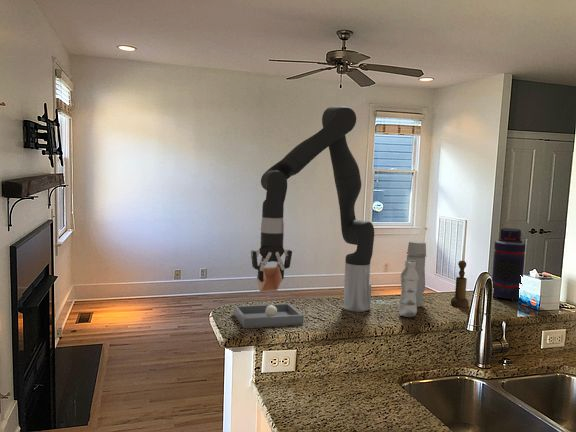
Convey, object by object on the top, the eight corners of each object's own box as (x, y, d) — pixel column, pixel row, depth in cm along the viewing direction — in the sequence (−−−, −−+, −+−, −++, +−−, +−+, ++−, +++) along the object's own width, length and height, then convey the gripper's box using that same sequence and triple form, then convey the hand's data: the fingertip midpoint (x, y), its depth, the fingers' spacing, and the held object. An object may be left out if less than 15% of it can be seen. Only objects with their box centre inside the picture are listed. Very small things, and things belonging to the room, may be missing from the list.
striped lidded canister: (520, 303, 191) (525, 231, 189) (489, 298, 197) (494, 228, 195) (522, 296, 203) (527, 228, 201) (493, 292, 209) (497, 226, 207)
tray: (288, 311, 167) (288, 303, 166) (303, 324, 153) (303, 315, 152) (233, 314, 160) (234, 306, 160) (244, 328, 146) (244, 319, 146)
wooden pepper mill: (470, 305, 185) (473, 260, 184) (466, 308, 180) (469, 262, 178) (452, 302, 189) (455, 258, 187) (449, 305, 183) (451, 260, 182)
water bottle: (413, 308, 176) (417, 243, 174) (399, 303, 183) (402, 241, 181) (430, 306, 181) (434, 243, 179) (416, 301, 188) (419, 240, 186)
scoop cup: (273, 276, 161) (278, 263, 156) (276, 291, 158) (282, 279, 152) (256, 276, 159) (261, 264, 154) (259, 292, 156) (264, 279, 150)
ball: (279, 308, 155) (273, 319, 154) (278, 309, 159) (273, 319, 158) (269, 302, 155) (263, 313, 154) (268, 303, 159) (262, 313, 158)
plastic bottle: (414, 314, 169) (418, 260, 167) (418, 319, 162) (421, 263, 161) (396, 313, 170) (399, 259, 168) (399, 318, 163) (402, 262, 161)
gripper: (254, 232, 147) (252, 284, 148) (296, 232, 152) (294, 282, 153) (248, 229, 154) (246, 279, 155) (288, 229, 159) (287, 277, 160)
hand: (270, 280), depth 154 cm, fingers closed on scoop cup, 6 cm apart
